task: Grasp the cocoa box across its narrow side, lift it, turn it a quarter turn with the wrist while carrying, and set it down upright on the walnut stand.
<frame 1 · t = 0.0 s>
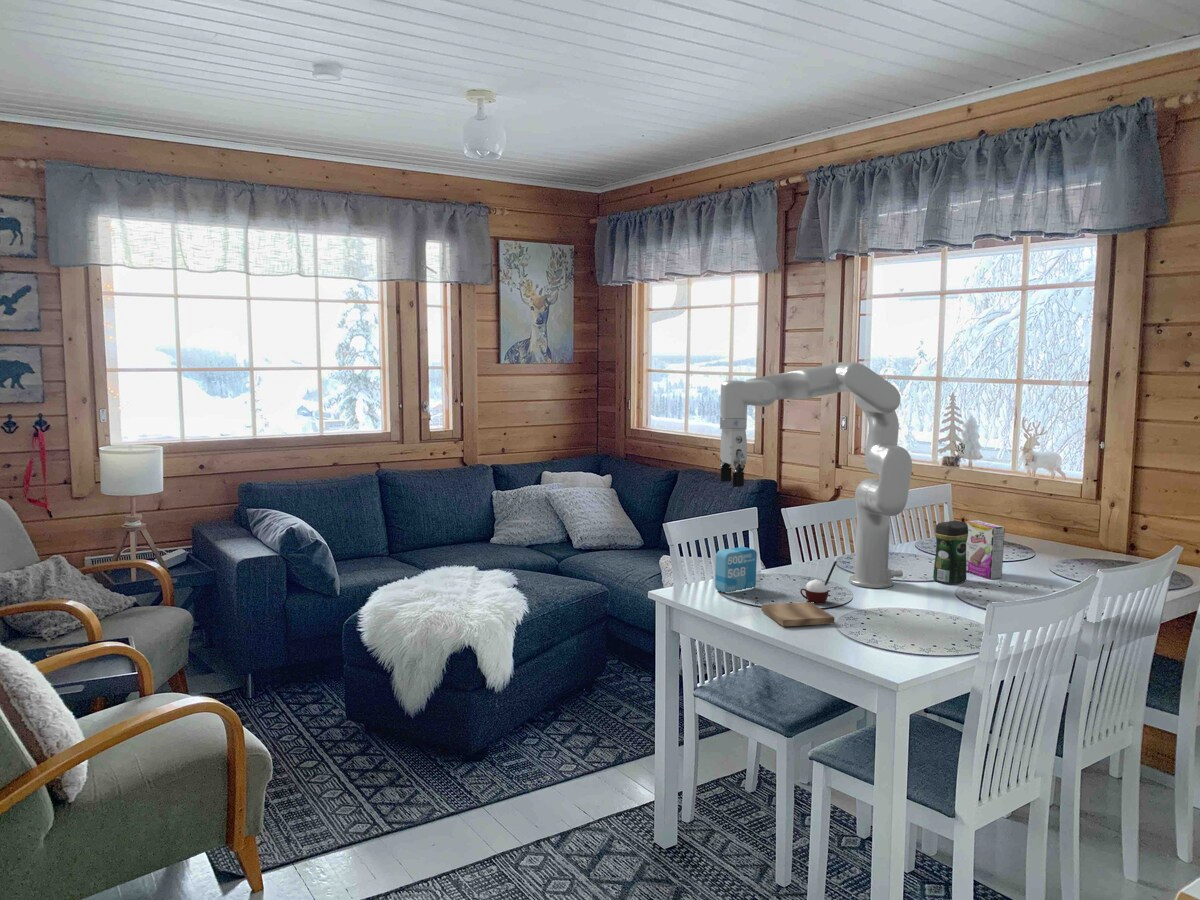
hand: (731, 483, 258), 31 cm above the table, tool pointing down, fingers open, 9 cm apart
coffee jar: (949, 582, 274), on the table
cocoa: (817, 603, 250), on the table
candy bar box: (982, 575, 282), on the table
stand: (797, 618, 235), on the table
data package: (735, 591, 262), on the table
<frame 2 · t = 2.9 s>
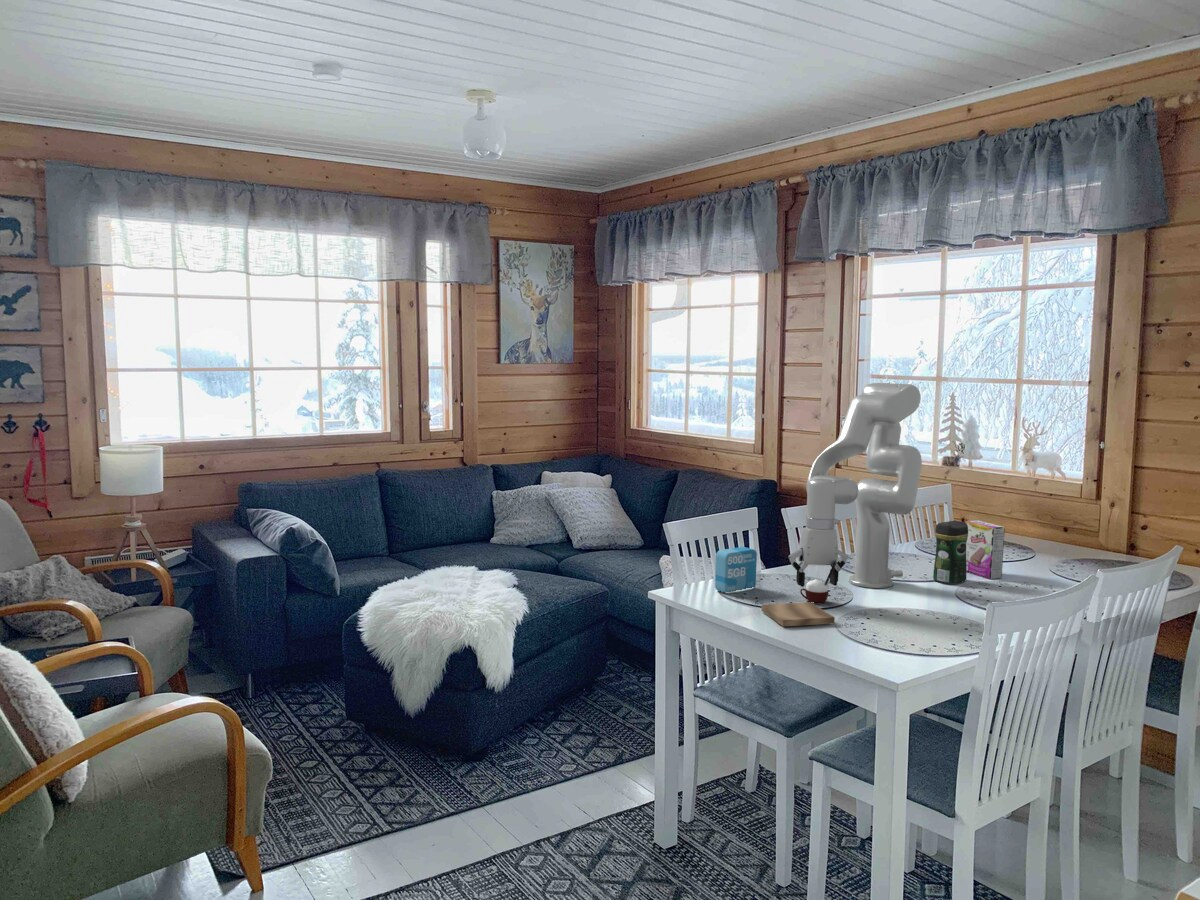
hand: (817, 584, 249), 5 cm above the table, tool pointing down, fingers open, 9 cm apart
nothing on the table moved.
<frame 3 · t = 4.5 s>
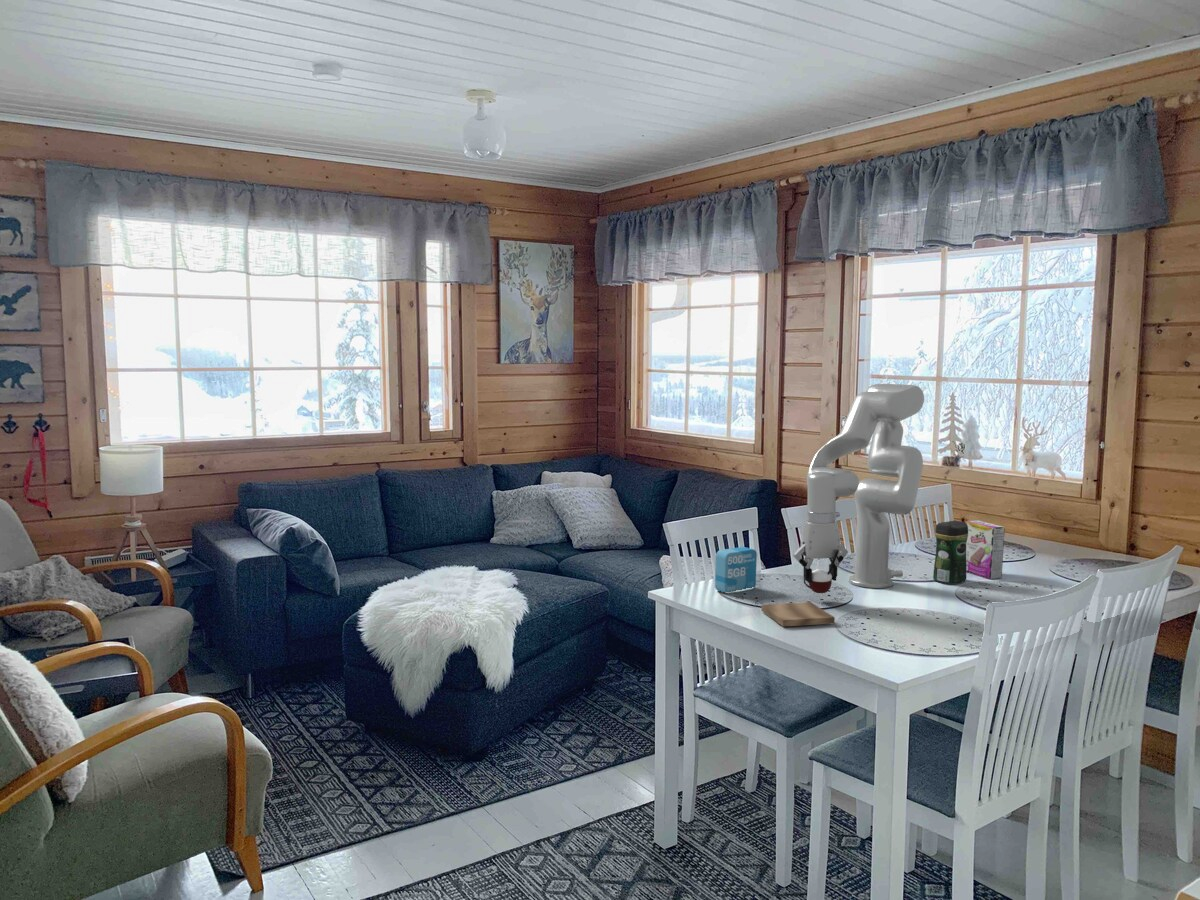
hand: (820, 579, 250), 6 cm above the table, tool pointing down, fingers closed on cocoa, 6 cm apart
cocoa: (820, 592, 251), point 3 cm above the table, touching gripper
everything else where it was.
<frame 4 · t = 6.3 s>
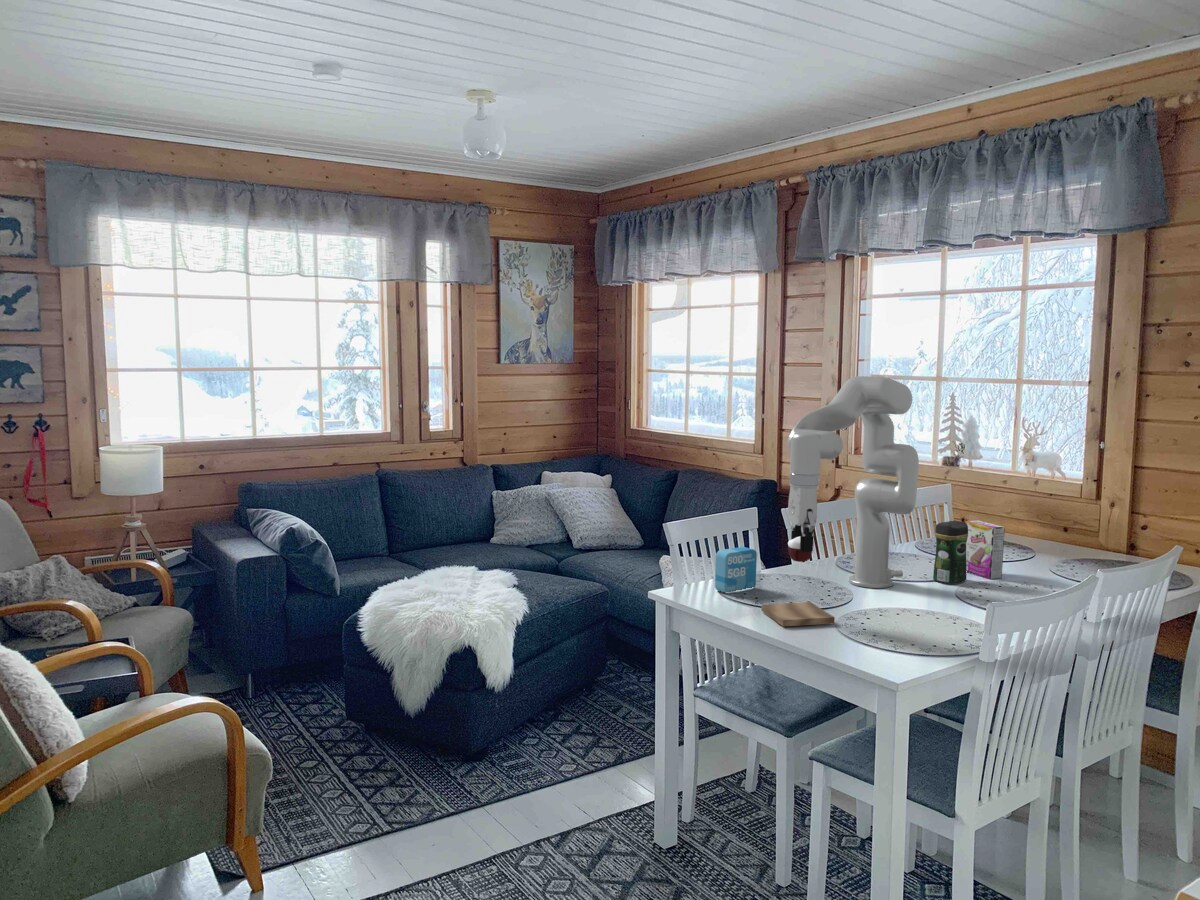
hand: (801, 547, 235), 18 cm above the table, tool pointing down, fingers closed on cocoa, 6 cm apart
cocoa: (800, 560, 235), point 15 cm above the table, touching gripper
everything else where it was.
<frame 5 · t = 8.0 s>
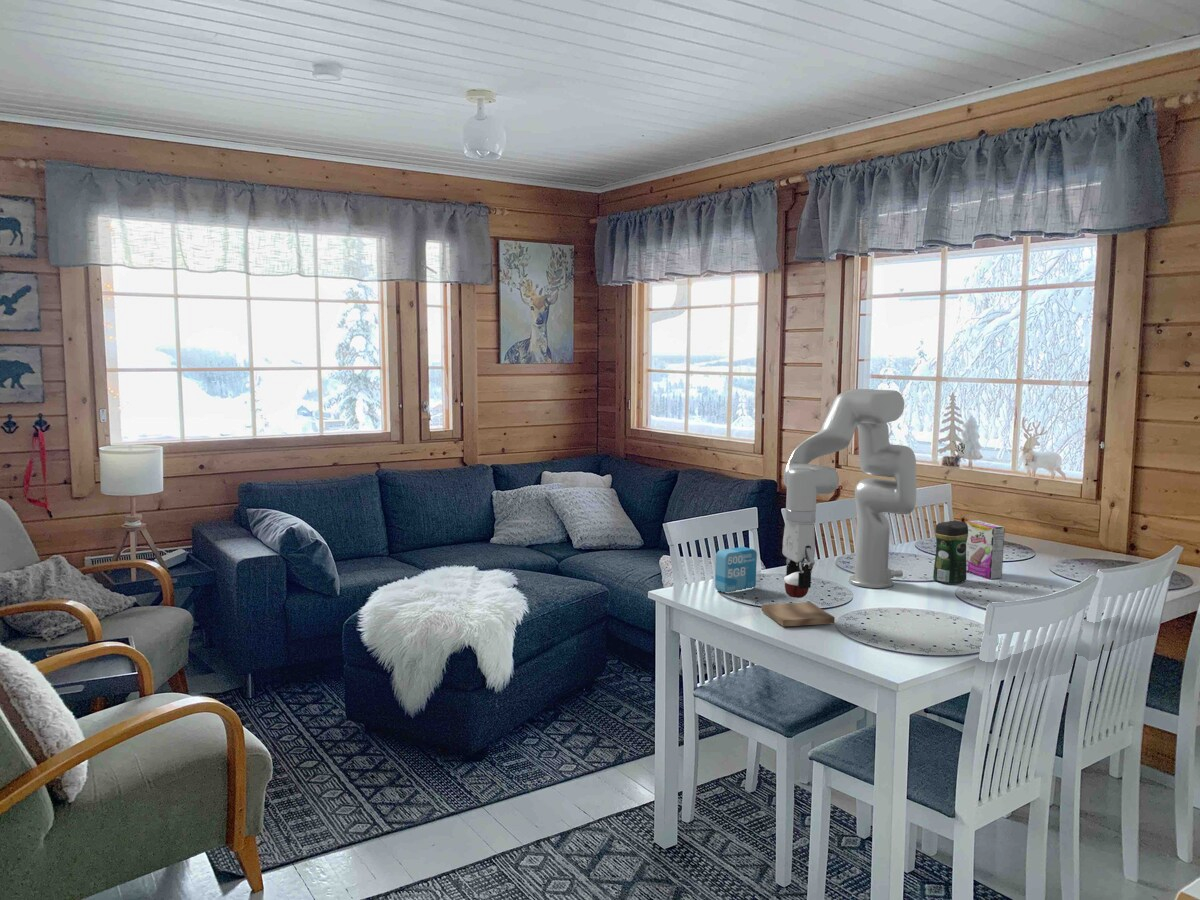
hand: (798, 583, 234), 9 cm above the table, tool pointing down, fingers closed on cocoa, 6 cm apart
cocoa: (797, 596, 234), point 6 cm above the table, touching gripper
everything else where it was.
when the fingers open (6 cm above the table, at t = 9.1 s): cocoa drops 1 cm, resting on stand.
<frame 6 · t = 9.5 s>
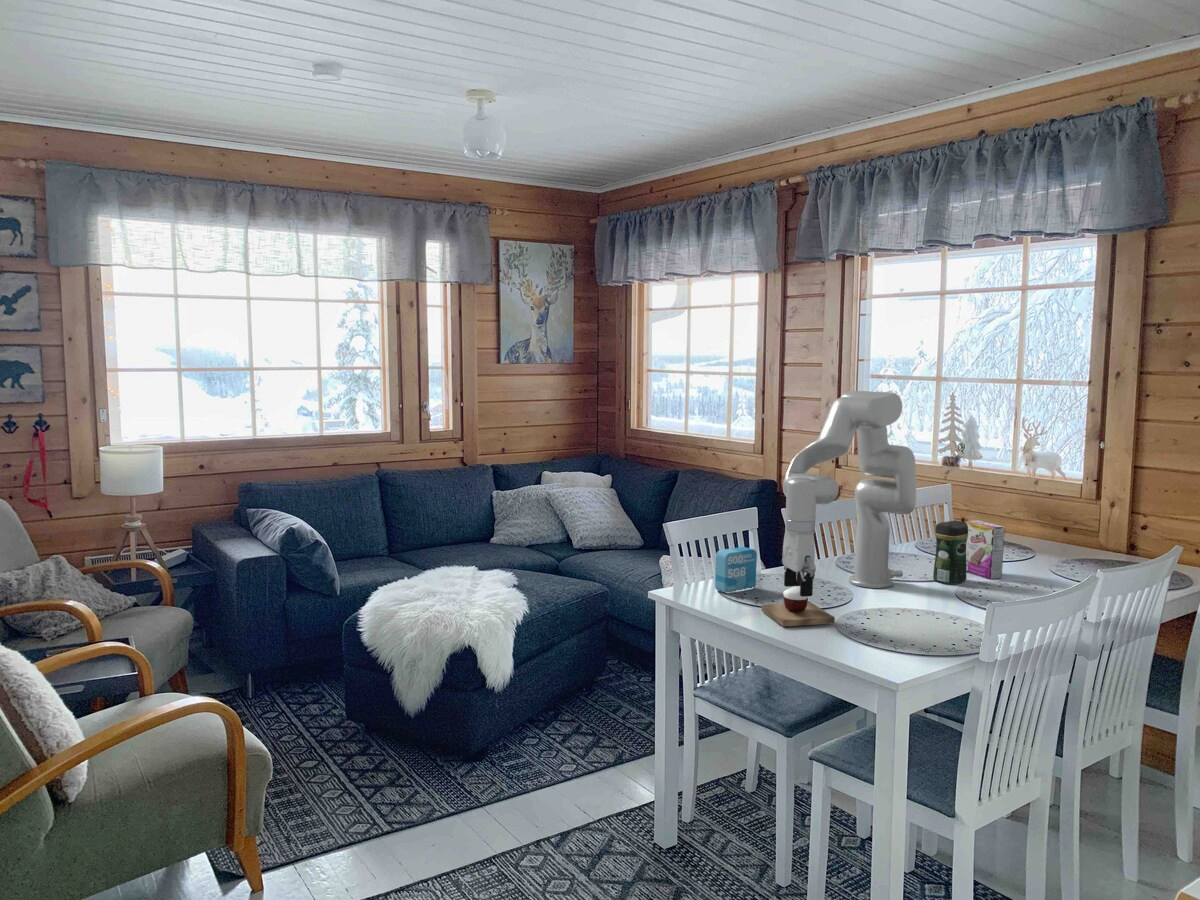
hand: (797, 590, 234), 7 cm above the table, tool pointing down, fingers open, 9 cm apart
cocoa: (796, 610, 235), point 2 cm above the table, touching stand
everything else where it was.
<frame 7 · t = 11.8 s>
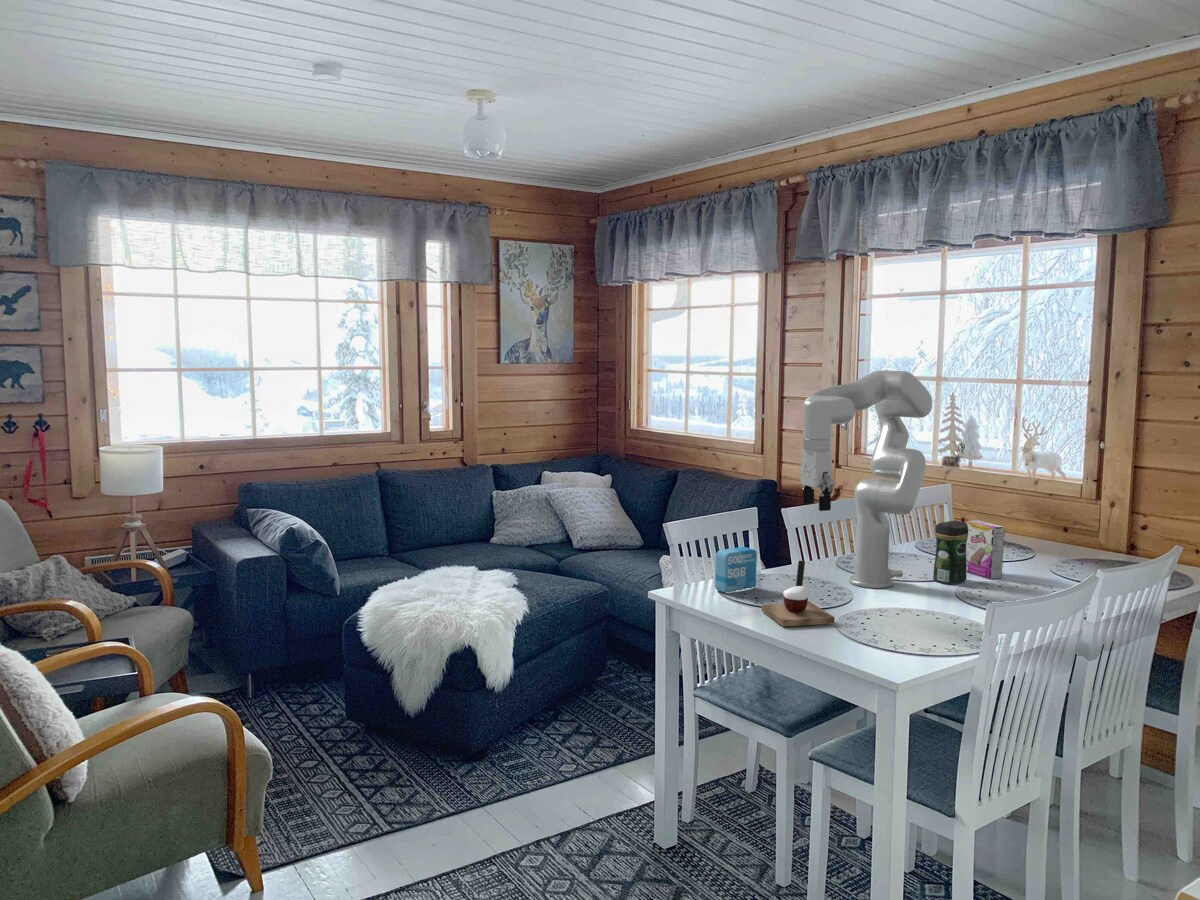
hand: (816, 506, 246), 27 cm above the table, tool pointing down, fingers open, 9 cm apart
nothing on the table moved.
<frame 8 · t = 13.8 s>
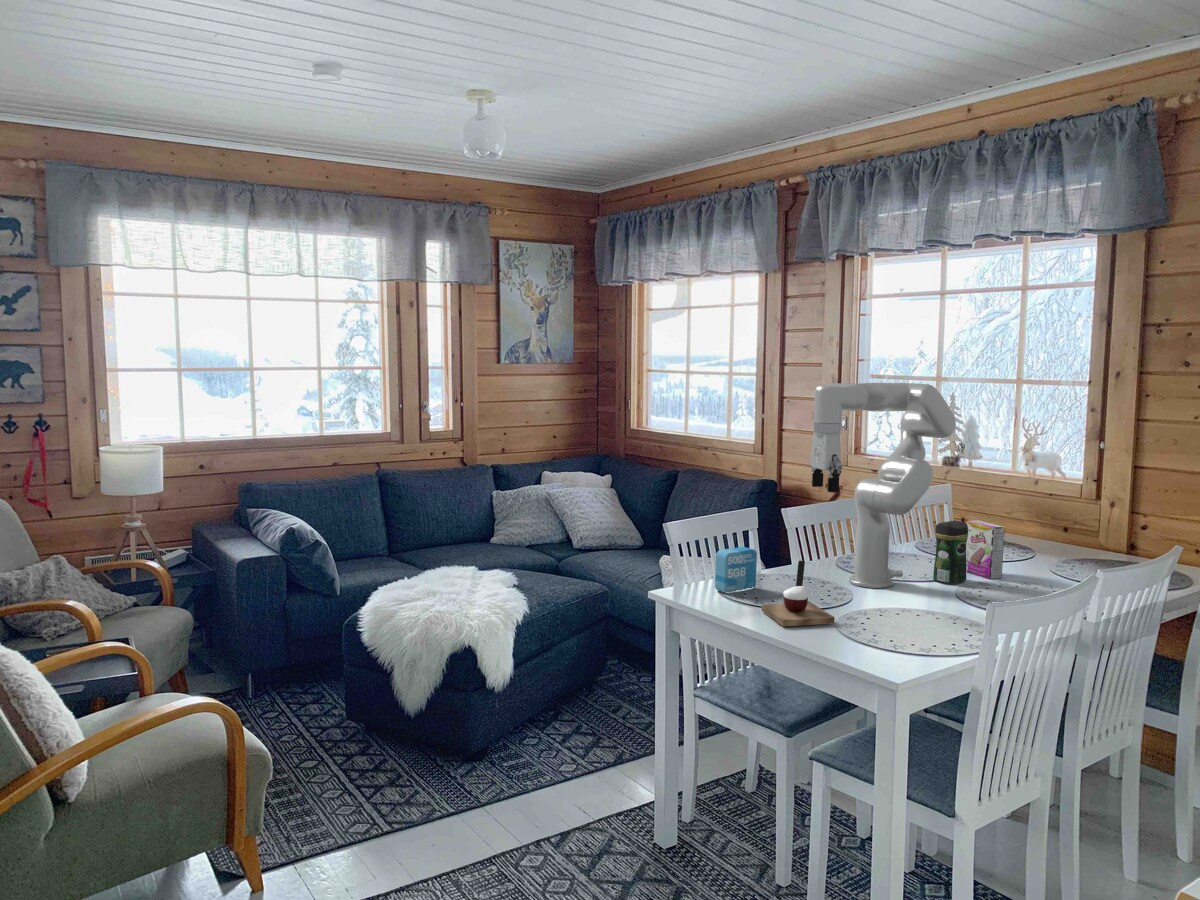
hand: (825, 489, 255), 30 cm above the table, tool pointing down, fingers open, 9 cm apart
nothing on the table moved.
at the end: cocoa 0.7 cm from the stand (horizontally); cocoa touching stand; cocoa tilted 0° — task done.
